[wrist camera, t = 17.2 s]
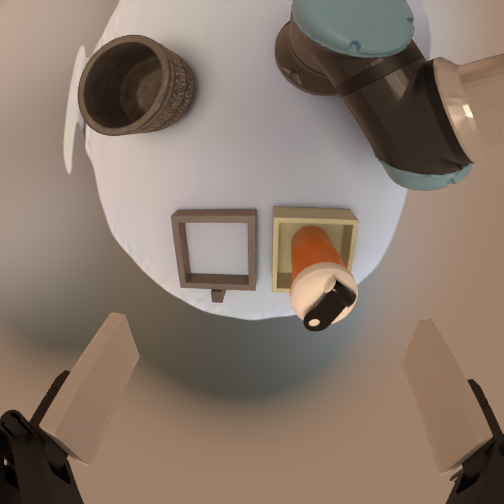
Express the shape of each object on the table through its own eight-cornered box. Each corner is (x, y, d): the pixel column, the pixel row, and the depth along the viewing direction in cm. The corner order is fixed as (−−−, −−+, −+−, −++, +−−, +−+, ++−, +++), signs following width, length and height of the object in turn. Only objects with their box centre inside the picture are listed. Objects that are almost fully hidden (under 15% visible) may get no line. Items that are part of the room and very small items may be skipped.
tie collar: (177, 210, 50) (169, 217, 46) (256, 209, 49) (254, 217, 45) (186, 288, 57) (181, 300, 53) (256, 291, 56) (255, 303, 52)
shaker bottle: (276, 252, 52) (278, 323, 34) (301, 212, 48) (318, 267, 30) (317, 272, 53) (335, 346, 35) (342, 234, 49) (377, 297, 31)
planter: (204, 54, 38) (177, 27, 24) (196, 132, 44) (165, 135, 30) (129, 59, 38) (83, 44, 24) (123, 131, 44) (74, 139, 30)
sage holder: (273, 206, 49) (273, 217, 43) (349, 209, 48) (358, 220, 42) (272, 274, 54) (271, 292, 49) (340, 275, 53) (347, 292, 48)
